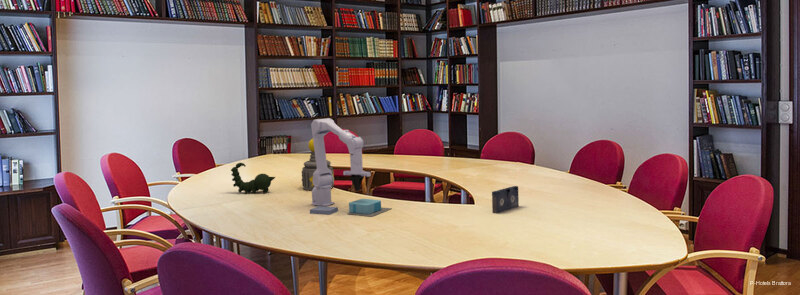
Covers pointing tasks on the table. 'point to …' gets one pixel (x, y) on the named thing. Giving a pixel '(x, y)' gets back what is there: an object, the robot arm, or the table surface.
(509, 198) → the vhs cassette tape
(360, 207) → the teal flat block
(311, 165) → the decorative lamp
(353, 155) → the robot arm
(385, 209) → the mat
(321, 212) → the book
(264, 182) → the toy figurine
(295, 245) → the table surface
